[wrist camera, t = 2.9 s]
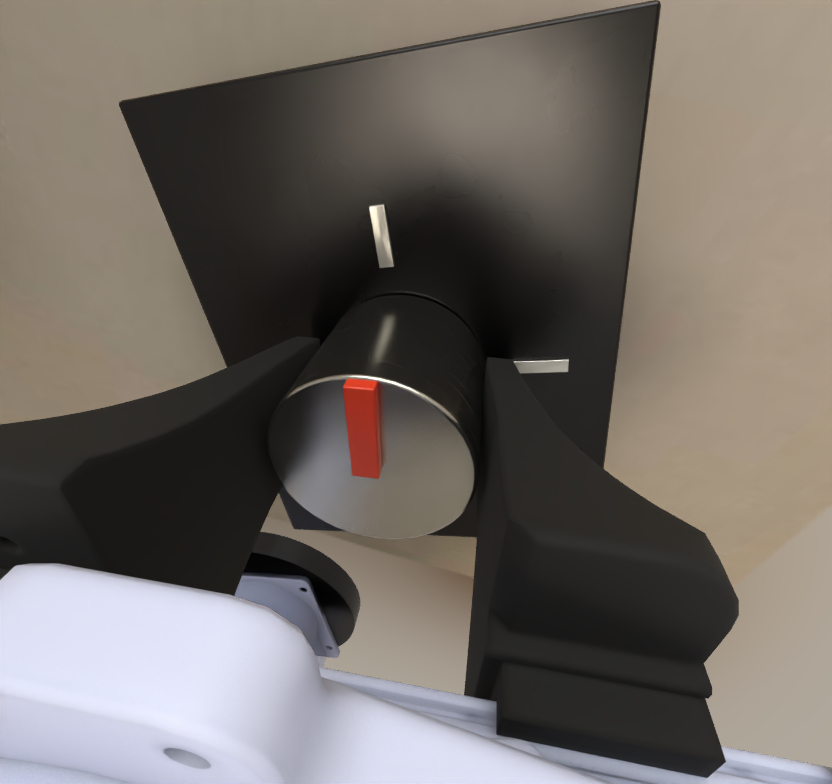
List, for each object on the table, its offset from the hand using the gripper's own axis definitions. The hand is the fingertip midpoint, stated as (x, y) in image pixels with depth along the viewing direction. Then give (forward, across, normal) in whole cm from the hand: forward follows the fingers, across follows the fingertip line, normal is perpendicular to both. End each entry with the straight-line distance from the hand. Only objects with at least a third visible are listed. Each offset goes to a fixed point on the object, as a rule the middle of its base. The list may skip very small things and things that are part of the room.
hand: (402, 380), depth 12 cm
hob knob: (+1, 0, 0) cm, 1 cm away
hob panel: (+4, 0, 0) cm, 4 cm away
